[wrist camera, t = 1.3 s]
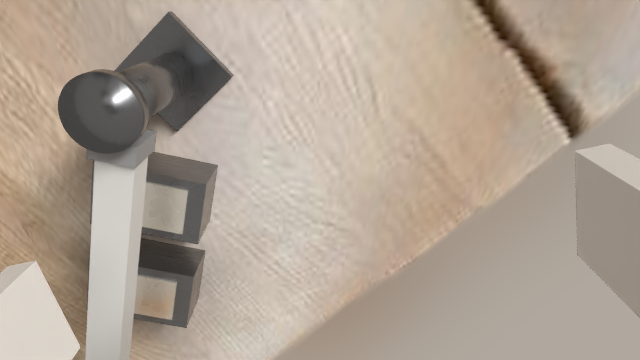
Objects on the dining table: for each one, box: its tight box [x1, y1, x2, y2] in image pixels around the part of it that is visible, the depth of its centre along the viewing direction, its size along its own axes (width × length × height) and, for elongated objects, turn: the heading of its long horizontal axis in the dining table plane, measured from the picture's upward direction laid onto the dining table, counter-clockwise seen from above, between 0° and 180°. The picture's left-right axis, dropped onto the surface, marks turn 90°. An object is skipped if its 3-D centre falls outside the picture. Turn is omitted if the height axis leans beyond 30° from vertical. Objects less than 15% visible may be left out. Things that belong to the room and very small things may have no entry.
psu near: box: [90, 152, 218, 244], centre depth 36 cm, size 5×8×4 cm, turn 77°
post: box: [58, 12, 233, 154], centre depth 29 cm, size 6×6×13 cm
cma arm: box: [85, 129, 157, 360], centre depth 30 cm, size 20×3×3 cm, turn 167°
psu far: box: [87, 238, 205, 328], centre depth 39 cm, size 5×8×4 cm, turn 77°
